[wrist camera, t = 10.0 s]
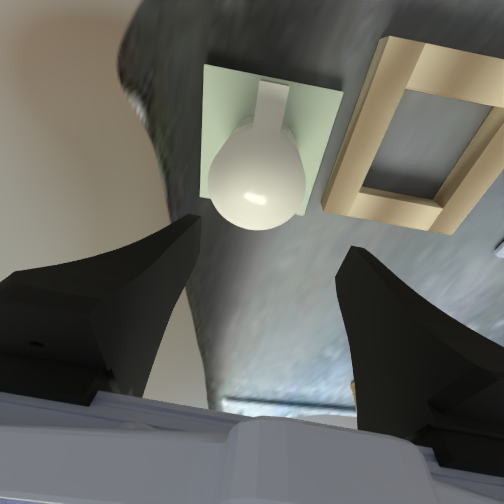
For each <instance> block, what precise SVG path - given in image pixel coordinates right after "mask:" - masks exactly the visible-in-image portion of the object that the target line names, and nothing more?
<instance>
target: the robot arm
mask: <svg viewBox="0 0 504 504" xmlns="http://www.w3.org/2000/svg"><path fill="white" fill-rule="evenodd" d="M200 235H201V216H197V215H192V214H187V215H185V216H184V217H182V218H180V219H179V220H177V221H175V222H174V223H172V224H170V225H168V226H167V227H165V228H163V229H161V230H160V231H158V232H155V233H153V234H151V235H149V236H147V237H146V238H143V239H141V240H139V241H137V242H134V243H132V244H130V245H127V246H124V247H122V248H119V249H116V250H113V251H110V252H106V253H103V254H100V255H97V256H93V257H89V258H85V259H81V260H77V261H72V262H68V263H63V264H58V265H53V266H47V267H41V268H34V269H28V270H21V271H15V272H13V273H12V274H11V275H9V276H8V277H7V278H5V279H4V280H3V281H1V282H0V504H504V347H502V346H501V345H499V344H497V343H495V342H493V341H491V340H489V339H487V338H486V337H484V336H482V335H480V334H479V333H477V332H475V331H473V330H472V329H470V328H468V327H466V326H465V325H463V324H462V323H460V322H458V321H457V320H455V319H453V318H452V317H450V316H449V315H447V314H446V313H444V312H443V311H441V310H440V309H438V308H437V307H435V306H434V305H433V304H431V303H430V302H428V301H427V300H426V299H424V298H423V297H422V296H420V295H419V294H418V293H416V292H415V291H414V290H413V289H411V288H410V287H409V286H408V285H406V284H405V283H404V282H403V281H402V280H401V279H399V278H398V277H397V276H396V275H395V274H394V273H393V272H391V271H390V270H389V269H388V268H387V267H386V266H385V265H384V264H382V263H381V262H380V261H379V260H378V259H377V258H376V257H375V256H373V255H372V254H371V253H370V252H369V251H367V250H366V249H364V248H361V247H356V246H351V247H350V249H349V251H348V253H347V255H346V257H345V259H344V261H343V263H342V265H341V267H340V268H339V270H338V272H337V274H336V276H335V282H336V292H337V298H338V302H339V306H340V310H341V313H342V317H343V321H344V325H345V328H346V332H347V336H348V341H349V345H350V352H351V359H352V366H353V375H354V384H355V395H356V407H357V426H358V430H356V429H350V428H344V427H338V426H332V425H327V424H321V423H315V422H310V421H304V420H298V419H292V418H287V417H274V416H258V417H249V416H243V415H237V414H232V413H226V412H220V411H214V410H208V409H203V408H196V407H191V406H185V405H179V404H174V403H167V402H162V401H156V400H150V399H144V398H142V396H143V393H144V390H145V387H146V384H147V381H148V378H149V375H150V372H151V369H152V366H153V363H154V360H155V357H156V354H157V351H158V348H159V346H160V343H161V340H162V337H163V335H164V331H165V329H166V326H167V324H168V321H169V319H170V316H171V313H172V311H173V308H174V307H175V304H176V302H177V300H178V298H179V296H180V294H181V292H182V290H183V289H184V287H185V285H186V283H187V281H188V279H189V277H190V275H191V273H192V271H193V269H194V266H195V264H196V261H197V258H198V255H199V252H200ZM494 254H495V255H496V256H497V257H500V258H504V242H503V243H502V244H501V245H500V246H499V247H498V248H497V249H496V250H495V251H494Z"/></svg>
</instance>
